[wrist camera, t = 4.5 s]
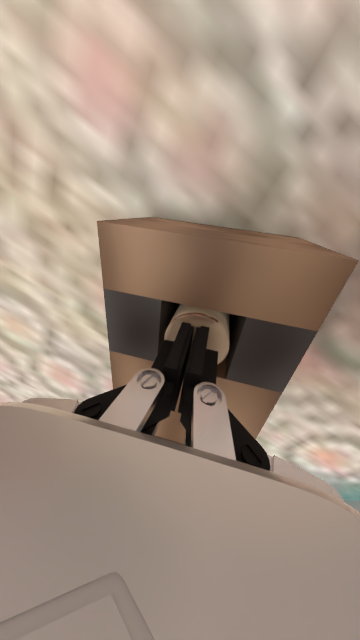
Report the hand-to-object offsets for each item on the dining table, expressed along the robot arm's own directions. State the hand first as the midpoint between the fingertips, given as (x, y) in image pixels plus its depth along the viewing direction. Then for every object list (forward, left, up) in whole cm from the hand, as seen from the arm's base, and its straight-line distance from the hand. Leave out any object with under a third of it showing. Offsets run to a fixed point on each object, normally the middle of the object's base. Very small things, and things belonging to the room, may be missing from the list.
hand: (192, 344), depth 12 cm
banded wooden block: (0, +7, -8) cm, 11 cm away
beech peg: (0, 0, -8) cm, 8 cm away
